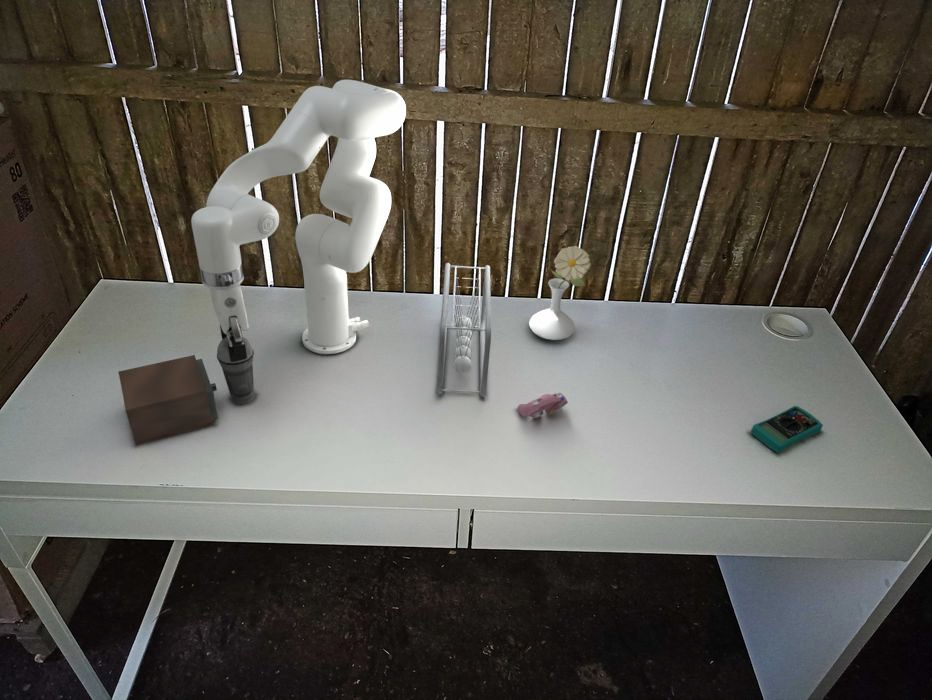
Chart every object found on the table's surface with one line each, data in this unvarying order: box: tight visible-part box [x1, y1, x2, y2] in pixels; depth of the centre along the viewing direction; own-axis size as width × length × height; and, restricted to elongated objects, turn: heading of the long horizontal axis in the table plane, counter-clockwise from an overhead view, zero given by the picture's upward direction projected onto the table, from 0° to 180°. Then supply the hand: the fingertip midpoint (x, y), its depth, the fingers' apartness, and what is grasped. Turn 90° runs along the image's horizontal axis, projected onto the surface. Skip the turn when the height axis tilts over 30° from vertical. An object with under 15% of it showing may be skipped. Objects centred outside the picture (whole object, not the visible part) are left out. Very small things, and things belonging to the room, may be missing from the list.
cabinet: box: [118, 354, 214, 446], centre depth 144 cm, size 15×13×9 cm
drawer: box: [196, 358, 219, 421], centre depth 145 cm, size 15×11×7 cm
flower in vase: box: [528, 245, 591, 341], centre depth 171 cm, size 13×11×25 cm
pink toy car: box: [517, 392, 569, 419], centre depth 152 cm, size 10×5×7 cm, turn 117°
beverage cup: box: [216, 335, 255, 405], centre depth 146 cm, size 7×7×20 cm
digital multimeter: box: [750, 405, 824, 454], centre depth 152 cm, size 7×15×3 cm, turn 122°
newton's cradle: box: [436, 262, 492, 398], centre depth 163 cm, size 30×10×18 cm, turn 179°
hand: (234, 348), depth 145 cm, fingers closed on beverage cup, 6 cm apart
